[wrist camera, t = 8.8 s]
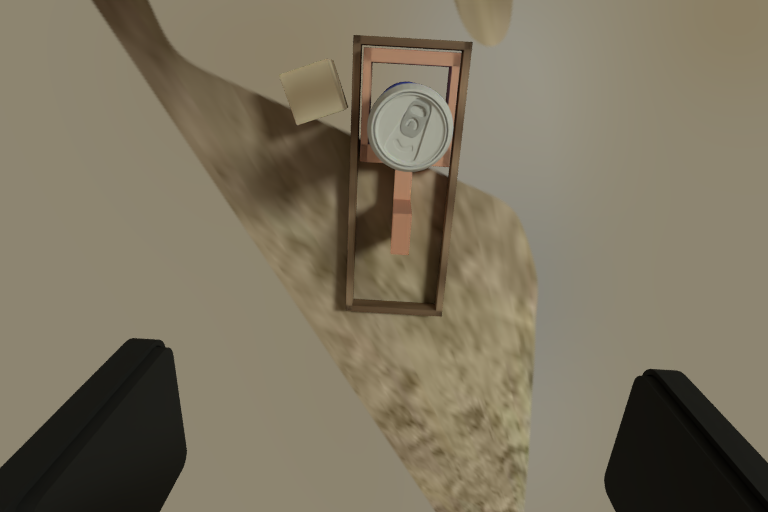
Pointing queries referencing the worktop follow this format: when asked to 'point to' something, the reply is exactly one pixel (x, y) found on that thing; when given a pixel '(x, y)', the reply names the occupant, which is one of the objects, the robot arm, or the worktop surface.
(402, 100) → the beverage can
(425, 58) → the sled
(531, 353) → the worktop surface
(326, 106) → the beech cube
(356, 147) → the lane frame
